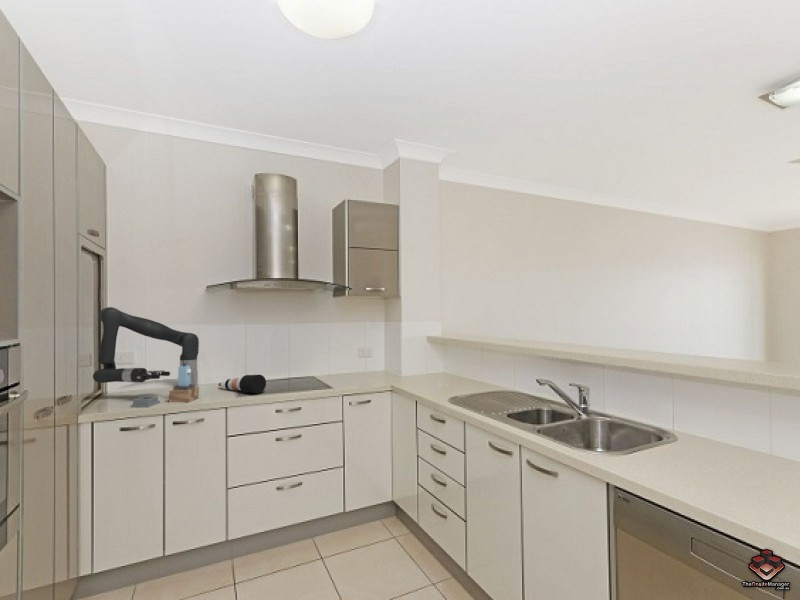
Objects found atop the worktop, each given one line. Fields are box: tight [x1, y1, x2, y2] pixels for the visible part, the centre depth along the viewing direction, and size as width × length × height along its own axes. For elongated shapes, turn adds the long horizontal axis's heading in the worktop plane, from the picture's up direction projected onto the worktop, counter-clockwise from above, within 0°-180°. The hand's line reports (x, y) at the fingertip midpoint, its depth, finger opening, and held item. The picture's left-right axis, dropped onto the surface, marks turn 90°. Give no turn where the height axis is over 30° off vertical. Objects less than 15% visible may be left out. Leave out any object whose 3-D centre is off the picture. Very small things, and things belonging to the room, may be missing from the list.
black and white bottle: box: [217, 374, 267, 394], centre depth 233 cm, size 10×34×10 cm, turn 58°
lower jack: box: [130, 395, 161, 408], centre depth 202 cm, size 9×9×4 cm
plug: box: [177, 360, 191, 386], centre depth 212 cm, size 4×5×15 cm
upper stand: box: [168, 384, 200, 404], centre depth 212 cm, size 10×10×8 cm
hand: (164, 375), depth 212 cm, fingers open, 8 cm apart
